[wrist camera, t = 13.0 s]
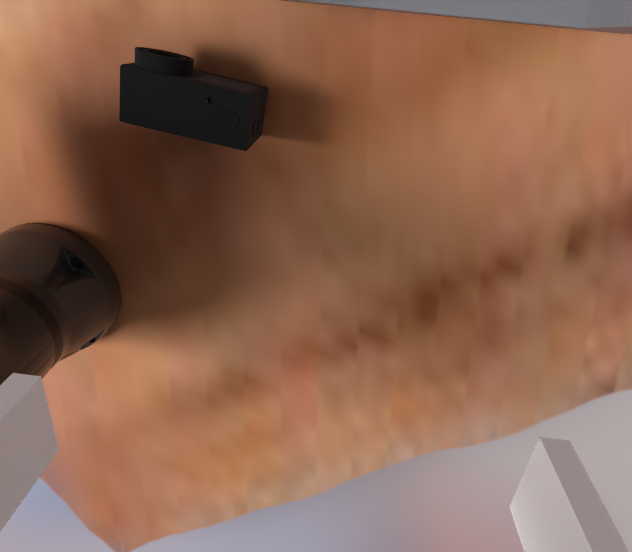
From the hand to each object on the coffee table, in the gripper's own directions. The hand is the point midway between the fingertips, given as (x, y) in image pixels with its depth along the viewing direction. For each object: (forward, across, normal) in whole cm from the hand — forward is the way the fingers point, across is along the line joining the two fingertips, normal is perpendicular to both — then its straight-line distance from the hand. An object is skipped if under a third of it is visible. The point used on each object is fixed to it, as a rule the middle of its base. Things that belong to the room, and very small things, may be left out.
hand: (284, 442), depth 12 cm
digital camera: (+35, -12, +4) cm, 37 cm away
